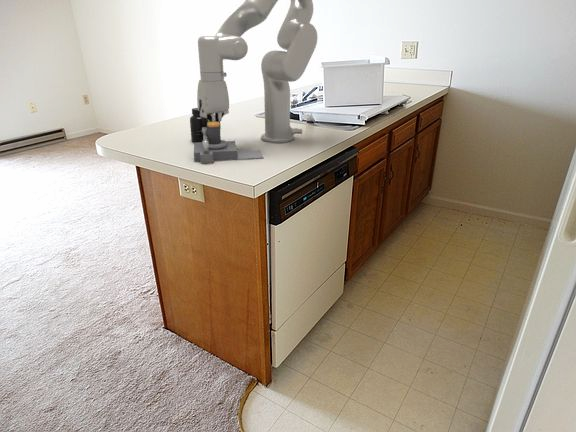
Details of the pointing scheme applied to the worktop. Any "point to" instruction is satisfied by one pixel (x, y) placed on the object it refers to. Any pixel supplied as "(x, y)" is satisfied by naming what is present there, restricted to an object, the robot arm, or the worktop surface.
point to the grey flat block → (215, 153)
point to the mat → (249, 154)
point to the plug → (215, 136)
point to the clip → (205, 140)
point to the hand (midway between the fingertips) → (215, 132)
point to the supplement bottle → (197, 126)
